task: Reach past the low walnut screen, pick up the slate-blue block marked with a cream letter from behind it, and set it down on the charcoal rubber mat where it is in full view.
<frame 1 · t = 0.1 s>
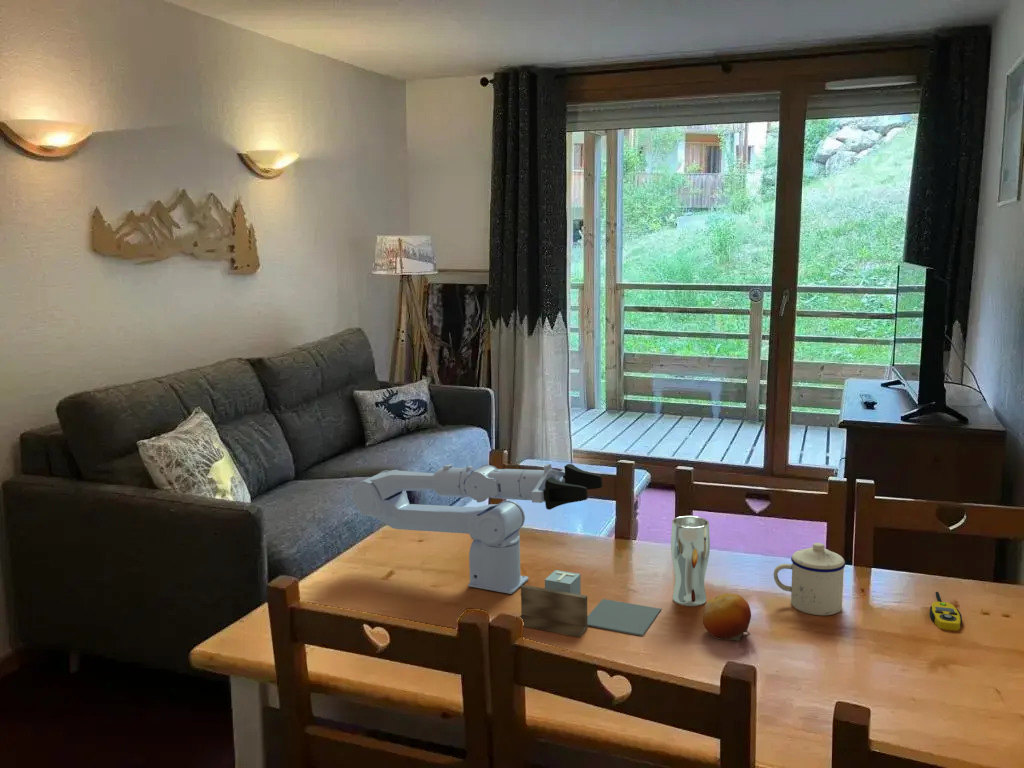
hand: (594, 487, 155), 22 cm above the table, tool horizontal, fingers open, 7 cm apart
beer glass: (689, 600, 158), on the table
yellow walkie talkie: (942, 614, 151), on the table
screen: (554, 623, 150), on the table
letter block: (563, 602, 158), on the table
fruit: (726, 634, 145), on the table
mat: (621, 617, 152), on the table
teacup with lid: (807, 606, 155), on the table
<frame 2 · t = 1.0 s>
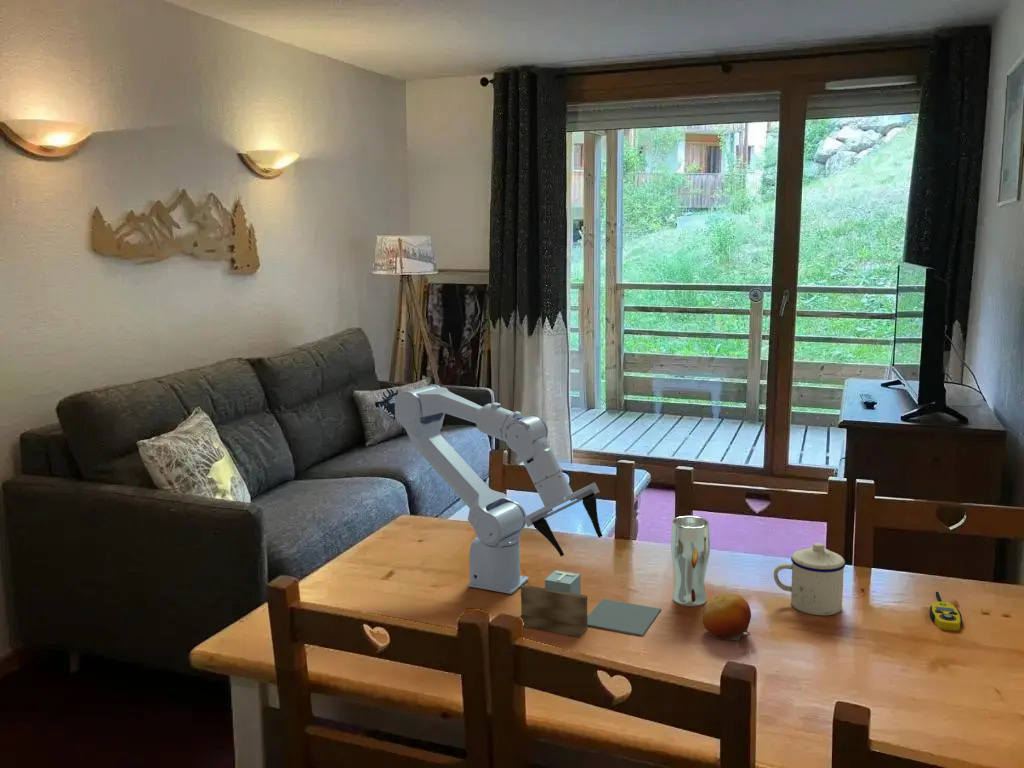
hand: (581, 546, 155), 11 cm above the table, tool tilted 30°, fingers open, 7 cm apart
nothing on the table moved.
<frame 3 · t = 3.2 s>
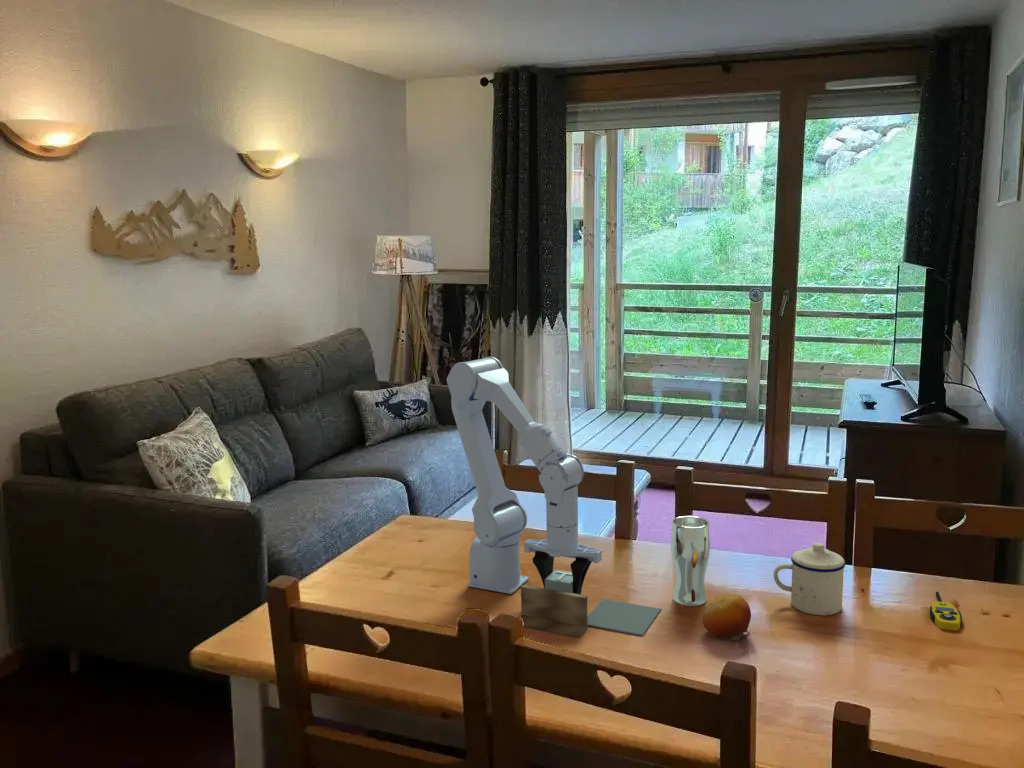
hand: (562, 593, 158), 2 cm above the table, tool pointing down, fingers closed on letter block, 5 cm apart
letter block: (563, 602, 158), on the table, touching gripper
everything else where it was.
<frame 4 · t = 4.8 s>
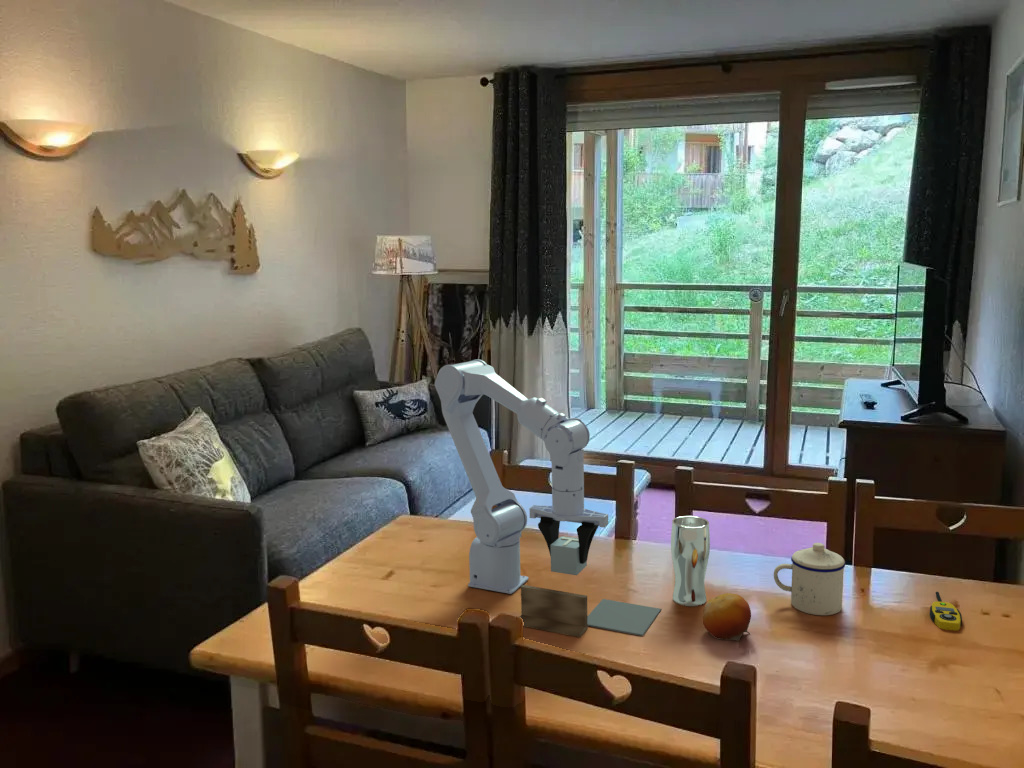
hand: (568, 559, 156), 8 cm above the table, tool pointing down, fingers closed on letter block, 5 cm apart
letter block: (569, 568, 156), point 7 cm above the table, touching gripper
everything else where it was.
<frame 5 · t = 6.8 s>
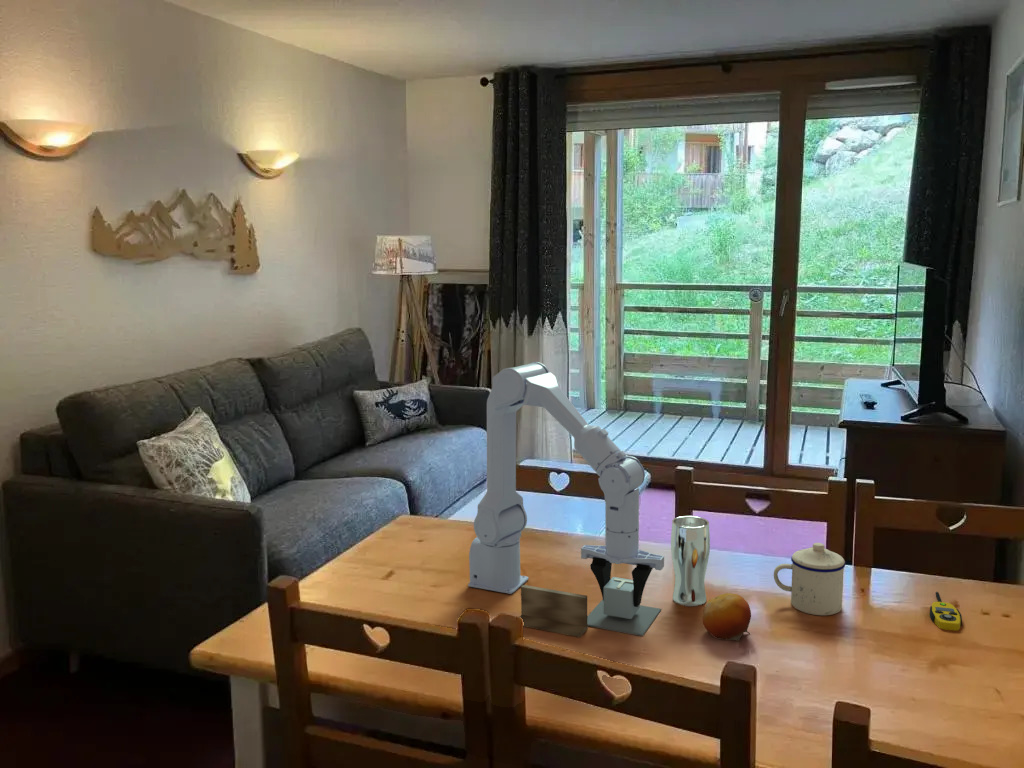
hand: (621, 601, 151), 3 cm above the table, tool pointing down, fingers closed on letter block, 5 cm apart
letter block: (621, 610, 151), point 1 cm above the table, touching gripper
everything else where it was.
when the fingers open (3 cm above the table, at t = 7.4 s): letter block stays where it is, resting on mat.
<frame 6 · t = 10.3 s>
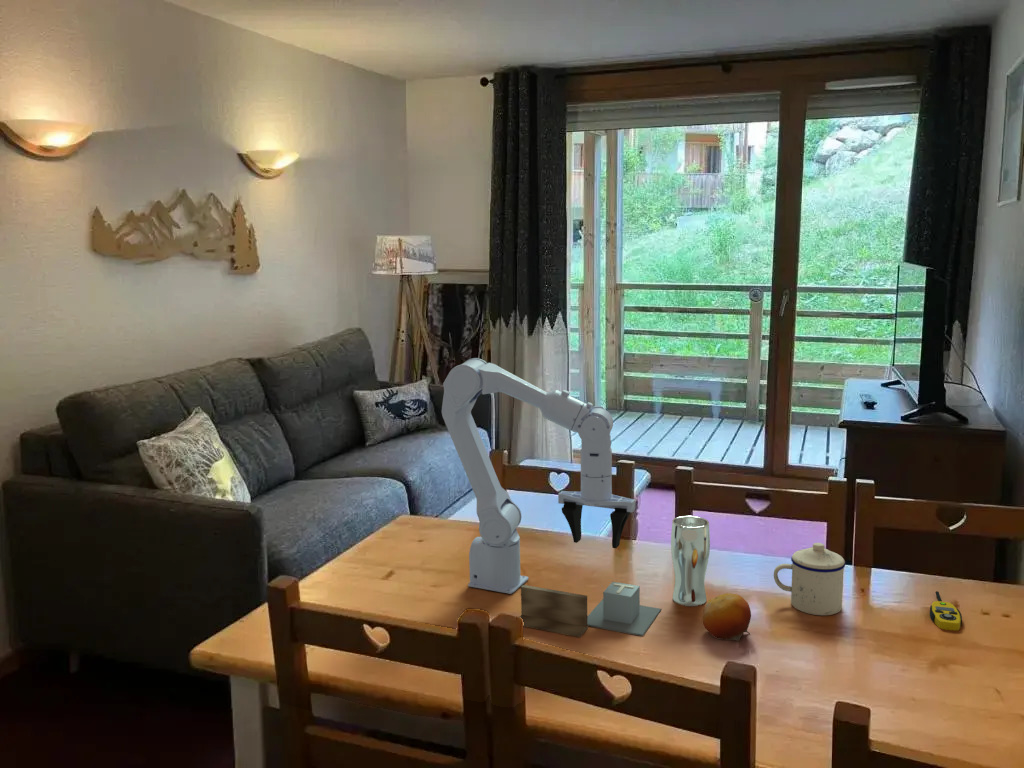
hand: (596, 543, 161), 9 cm above the table, tool pointing down, fingers open, 7 cm apart
letter block: (621, 615, 151), resting on mat
everything else where it was.
at the end: letter block inside the target area (0.1 cm from its centre), resting on mat; letter block tilted 0°; the gripper is holding nothing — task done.
